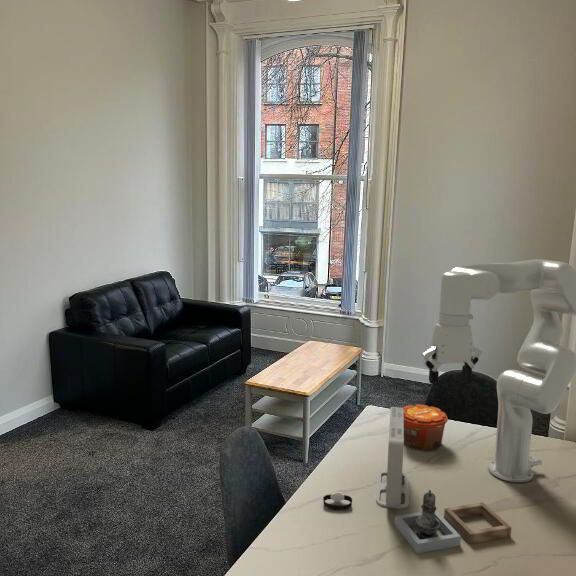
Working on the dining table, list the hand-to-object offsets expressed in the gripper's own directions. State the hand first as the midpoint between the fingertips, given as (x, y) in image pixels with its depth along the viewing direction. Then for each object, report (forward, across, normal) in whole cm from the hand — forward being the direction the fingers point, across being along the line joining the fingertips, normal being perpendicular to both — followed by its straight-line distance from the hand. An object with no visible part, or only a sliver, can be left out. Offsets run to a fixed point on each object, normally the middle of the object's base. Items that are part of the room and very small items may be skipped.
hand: (449, 382), depth 145 cm
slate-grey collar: (+33, +12, +14) cm, 38 cm away
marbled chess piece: (+34, +12, +13) cm, 38 cm away
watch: (+34, +29, -4) cm, 45 cm away
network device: (+34, +11, -8) cm, 36 cm away
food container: (+34, -12, -33) cm, 49 cm away
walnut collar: (+33, -2, +14) cm, 36 cm away
